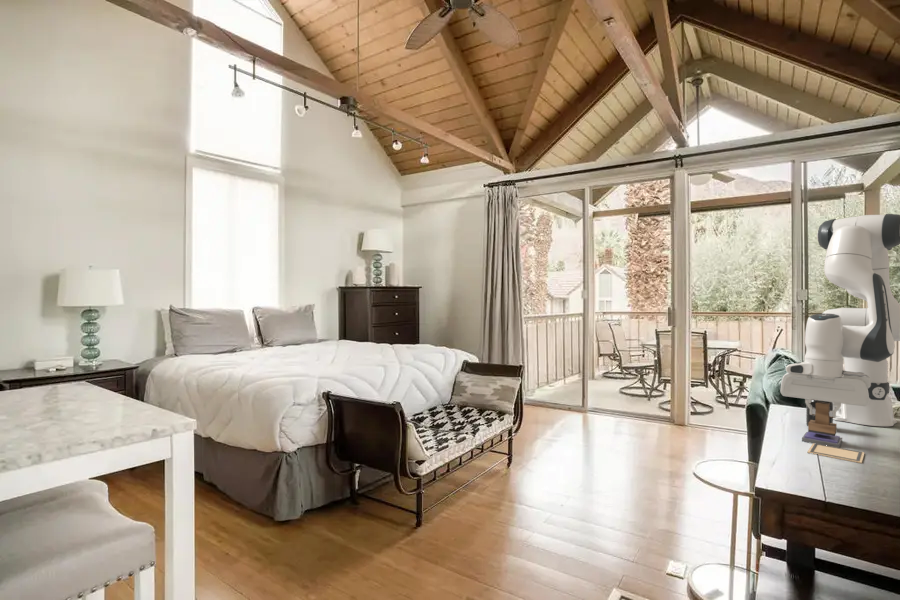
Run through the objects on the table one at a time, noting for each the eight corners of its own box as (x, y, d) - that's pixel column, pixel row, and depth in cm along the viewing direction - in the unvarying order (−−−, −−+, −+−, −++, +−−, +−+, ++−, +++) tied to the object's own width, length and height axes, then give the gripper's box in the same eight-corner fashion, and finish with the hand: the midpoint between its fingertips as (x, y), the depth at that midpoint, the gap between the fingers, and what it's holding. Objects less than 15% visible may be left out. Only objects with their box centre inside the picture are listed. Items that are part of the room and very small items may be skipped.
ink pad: (806, 435, 142) (806, 430, 142) (842, 441, 136) (842, 436, 136) (801, 441, 136) (801, 436, 136) (839, 448, 130) (839, 442, 130)
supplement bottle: (838, 429, 149) (839, 392, 148) (821, 431, 147) (822, 393, 147) (816, 424, 155) (817, 388, 155) (800, 425, 154) (801, 389, 154)
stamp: (810, 428, 140) (811, 400, 140) (836, 432, 136) (836, 403, 136) (808, 431, 136) (808, 402, 136) (834, 436, 132) (835, 405, 132)
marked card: (813, 444, 133) (813, 442, 133) (864, 453, 125) (864, 451, 125) (807, 452, 125) (807, 451, 125) (861, 463, 118) (861, 461, 118)
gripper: (871, 372, 131) (870, 421, 131) (783, 364, 145) (782, 408, 145) (870, 374, 126) (869, 425, 126) (779, 366, 141) (778, 411, 141)
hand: (822, 416), depth 136 cm, fingers closed on stamp, 3 cm apart
